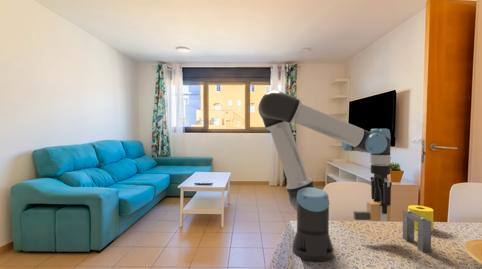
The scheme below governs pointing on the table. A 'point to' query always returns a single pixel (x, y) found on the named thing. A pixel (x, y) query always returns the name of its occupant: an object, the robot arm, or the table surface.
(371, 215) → the plug
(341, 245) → the table surface
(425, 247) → the gray arch block
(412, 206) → the tape roll
